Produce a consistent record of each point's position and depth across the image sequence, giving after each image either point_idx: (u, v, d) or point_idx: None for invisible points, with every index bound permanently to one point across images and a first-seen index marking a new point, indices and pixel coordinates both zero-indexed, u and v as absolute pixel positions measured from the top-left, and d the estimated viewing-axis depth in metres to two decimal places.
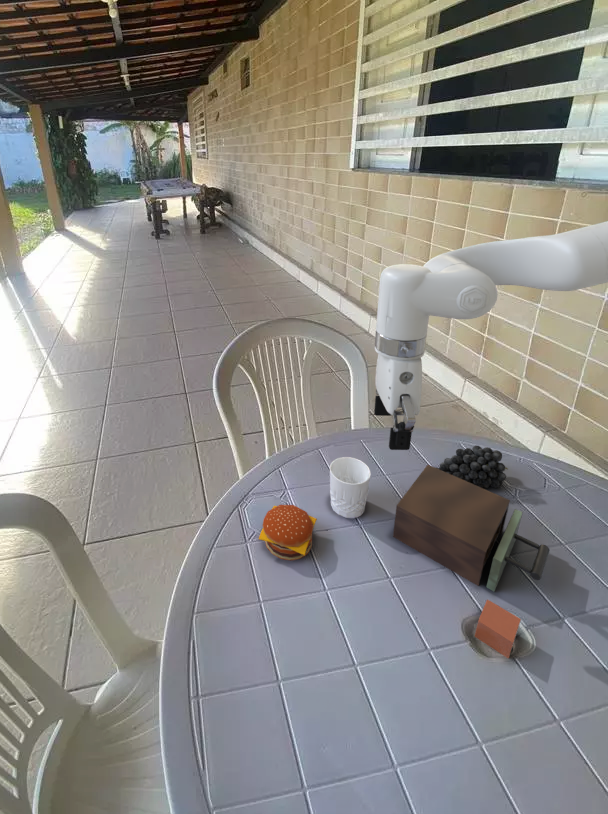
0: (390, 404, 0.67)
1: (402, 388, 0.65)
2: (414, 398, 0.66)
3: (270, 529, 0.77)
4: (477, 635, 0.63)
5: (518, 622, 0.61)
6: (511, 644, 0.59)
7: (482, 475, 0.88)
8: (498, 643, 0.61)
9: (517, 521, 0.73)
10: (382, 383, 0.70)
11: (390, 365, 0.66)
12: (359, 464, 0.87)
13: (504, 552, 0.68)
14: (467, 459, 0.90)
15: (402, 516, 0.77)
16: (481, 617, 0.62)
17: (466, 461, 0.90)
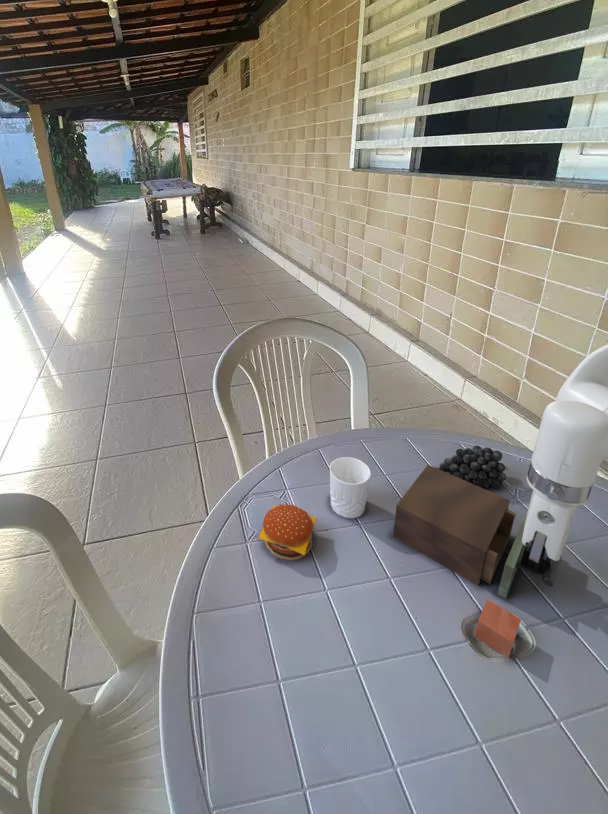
0: (523, 534, 0.65)
1: (538, 525, 0.63)
2: (552, 542, 0.62)
3: (270, 529, 0.77)
4: (477, 635, 0.63)
5: (518, 622, 0.61)
6: (511, 644, 0.59)
7: (482, 475, 0.88)
8: (498, 643, 0.61)
9: None
10: None
11: (532, 497, 0.63)
12: (359, 464, 0.87)
13: (516, 558, 0.67)
14: (467, 459, 0.90)
15: (402, 516, 0.77)
16: (481, 617, 0.62)
17: (466, 461, 0.90)
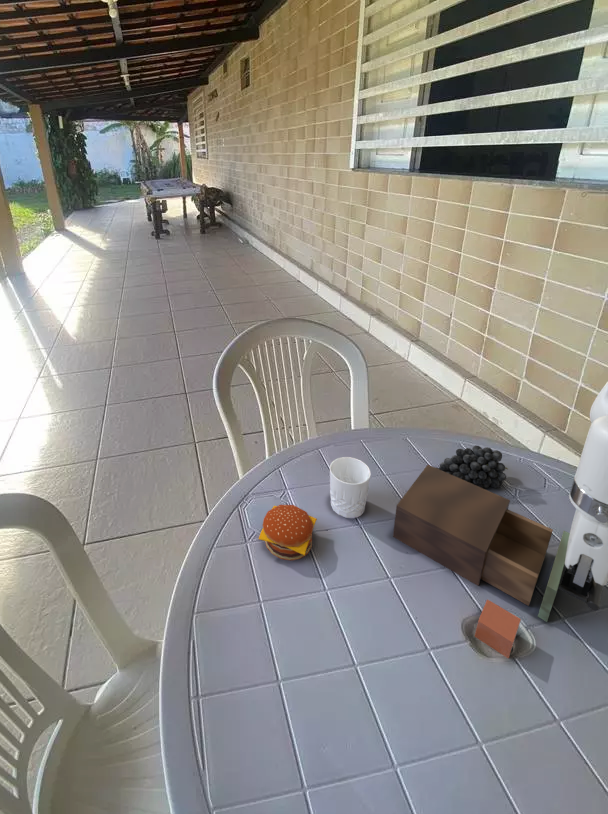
0: (567, 556, 0.61)
1: (584, 548, 0.59)
2: (599, 566, 0.58)
3: (270, 529, 0.77)
4: (477, 635, 0.63)
5: (518, 622, 0.61)
6: (511, 644, 0.59)
7: (482, 475, 0.88)
8: (498, 643, 0.61)
9: None
10: (570, 531, 0.63)
11: (577, 518, 0.60)
12: (359, 464, 0.87)
13: (558, 580, 0.63)
14: (467, 459, 0.90)
15: (402, 516, 0.77)
16: (481, 617, 0.62)
17: (466, 461, 0.90)
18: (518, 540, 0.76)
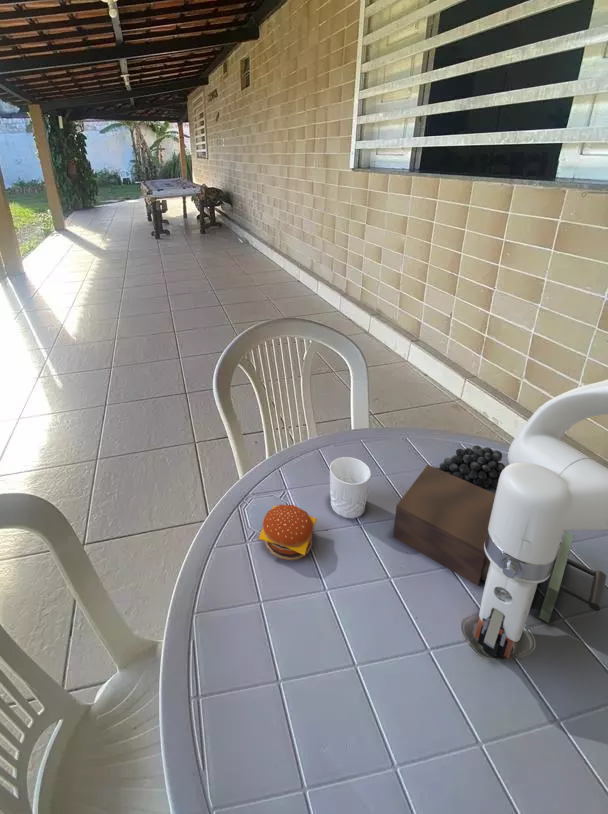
0: (480, 609, 0.58)
1: (495, 602, 0.56)
2: (510, 622, 0.55)
3: (270, 529, 0.77)
4: (477, 635, 0.63)
5: None
6: (511, 644, 0.59)
7: (482, 475, 0.88)
8: None
9: (569, 545, 0.69)
10: None
11: (489, 569, 0.57)
12: (359, 464, 0.87)
13: (560, 580, 0.63)
14: (467, 459, 0.90)
15: (402, 516, 0.77)
16: None
17: (466, 461, 0.90)
18: None
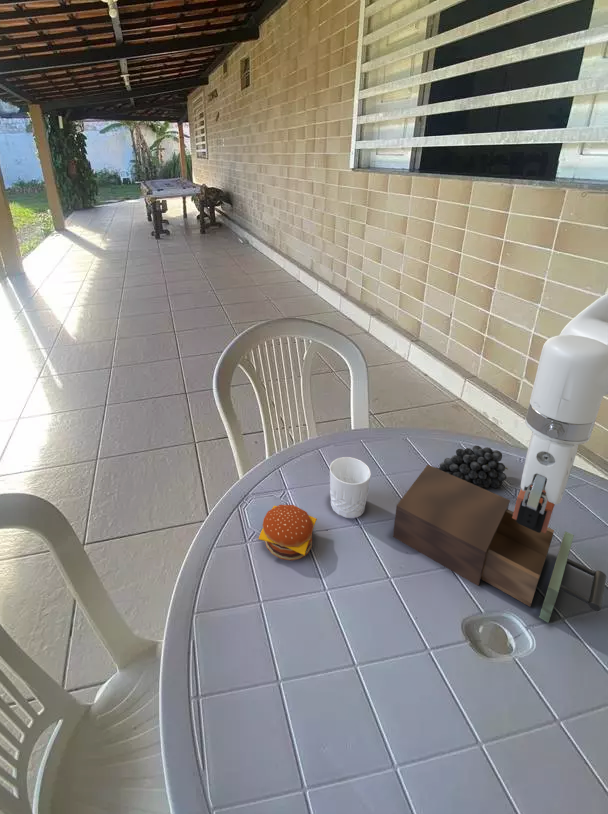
0: (522, 479, 0.62)
1: (538, 467, 0.60)
2: (552, 484, 0.59)
3: (270, 529, 0.77)
4: (516, 512, 0.66)
5: None
6: (550, 513, 0.63)
7: (482, 475, 0.88)
8: None
9: (569, 545, 0.69)
10: None
11: (531, 439, 0.61)
12: (359, 464, 0.87)
13: (560, 580, 0.63)
14: (467, 459, 0.90)
15: (402, 516, 0.77)
16: (520, 494, 0.66)
17: (466, 461, 0.90)
18: (519, 541, 0.76)
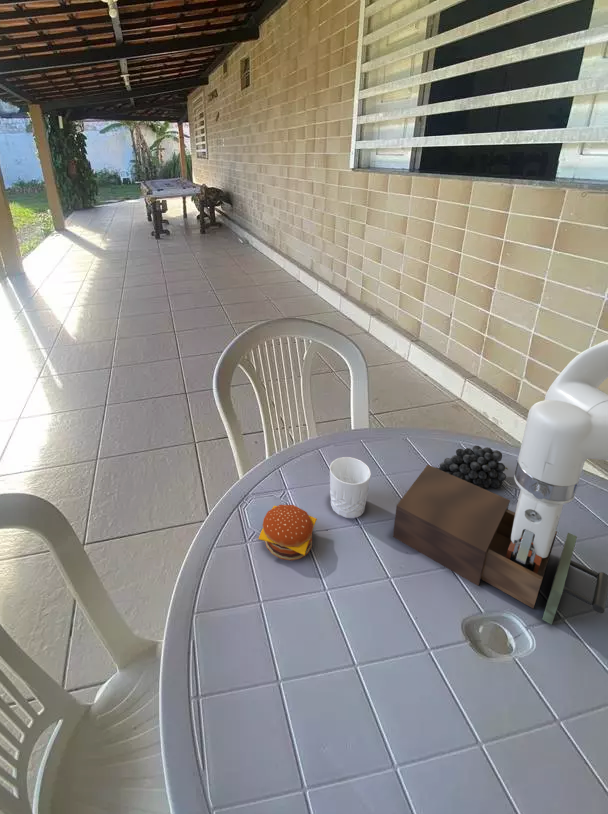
0: (512, 532, 0.66)
1: (526, 524, 0.64)
2: (539, 540, 0.63)
3: (270, 529, 0.77)
4: None
5: None
6: (537, 567, 0.67)
7: (482, 475, 0.88)
8: None
9: (572, 546, 0.68)
10: None
11: (520, 496, 0.65)
12: (359, 464, 0.87)
13: (563, 582, 0.63)
14: (467, 459, 0.90)
15: (402, 516, 0.77)
16: (510, 547, 0.70)
17: (466, 461, 0.90)
18: None
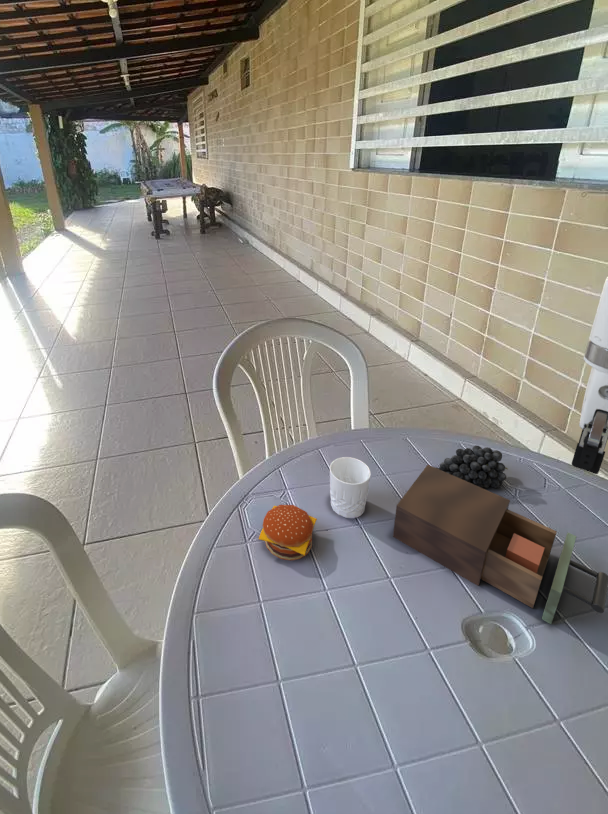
0: (581, 416, 0.62)
1: (600, 402, 0.59)
2: None
3: (270, 529, 0.77)
4: None
5: (542, 550, 0.69)
6: (537, 567, 0.67)
7: (482, 475, 0.88)
8: None
9: (572, 546, 0.68)
10: (584, 395, 0.64)
11: (592, 375, 0.60)
12: (359, 464, 0.87)
13: (562, 582, 0.63)
14: (467, 459, 0.90)
15: (402, 516, 0.77)
16: (509, 546, 0.70)
17: (466, 461, 0.90)
18: None
